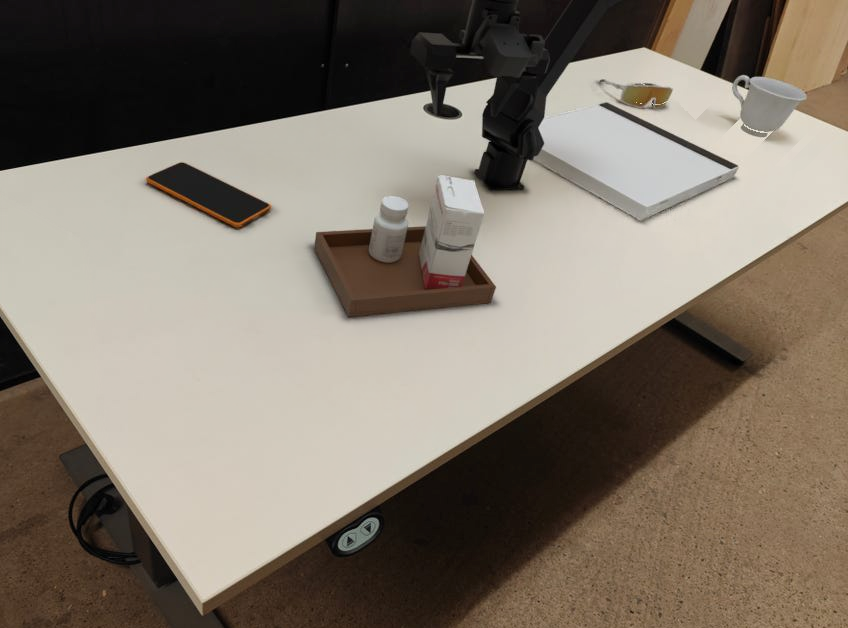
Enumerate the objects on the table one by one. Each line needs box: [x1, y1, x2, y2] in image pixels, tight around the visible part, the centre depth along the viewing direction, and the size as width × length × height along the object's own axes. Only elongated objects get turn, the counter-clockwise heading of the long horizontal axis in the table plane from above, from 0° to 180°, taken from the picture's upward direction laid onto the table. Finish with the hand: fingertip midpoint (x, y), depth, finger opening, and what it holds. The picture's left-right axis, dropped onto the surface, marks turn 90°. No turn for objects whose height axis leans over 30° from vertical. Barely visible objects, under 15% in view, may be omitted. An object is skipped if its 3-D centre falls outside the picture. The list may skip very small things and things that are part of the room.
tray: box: [313, 225, 497, 318], centre depth 86 cm, size 19×14×2 cm
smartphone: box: [145, 161, 272, 228], centre depth 93 cm, size 8×17×1 cm, turn 58°
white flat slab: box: [532, 101, 740, 222], centre depth 126 cm, size 35×2×31 cm
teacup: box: [731, 74, 808, 138], centre depth 148 cm, size 12×15×10 cm
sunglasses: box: [599, 78, 674, 110], centre depth 154 cm, size 14×15×5 cm
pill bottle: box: [369, 195, 410, 263], centre depth 86 cm, size 4×4×8 cm
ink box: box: [419, 174, 485, 290], centre depth 84 cm, size 9×5×12 cm, turn 2°
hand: (465, 115), depth 96 cm, fingers open, 9 cm apart
